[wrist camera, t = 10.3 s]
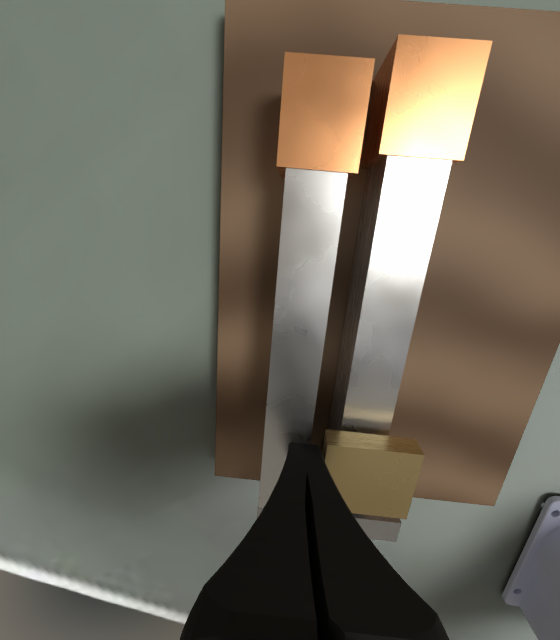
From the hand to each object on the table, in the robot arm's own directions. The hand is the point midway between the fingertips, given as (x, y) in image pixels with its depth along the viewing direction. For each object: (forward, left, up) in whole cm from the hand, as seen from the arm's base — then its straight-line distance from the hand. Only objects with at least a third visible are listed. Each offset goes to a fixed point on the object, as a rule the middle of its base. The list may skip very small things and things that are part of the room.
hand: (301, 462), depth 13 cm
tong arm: (+6, -2, -4) cm, 7 cm away
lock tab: (0, -3, 0) cm, 3 cm away
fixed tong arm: (+5, -2, -4) cm, 6 cm away
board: (+6, -4, -5) cm, 9 cm away
